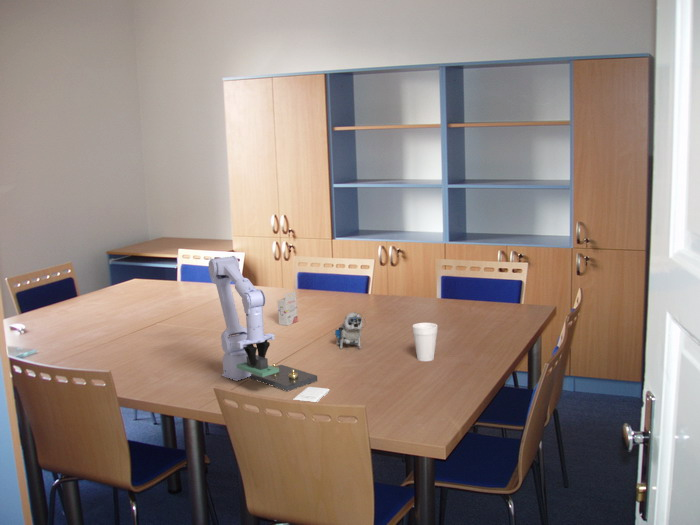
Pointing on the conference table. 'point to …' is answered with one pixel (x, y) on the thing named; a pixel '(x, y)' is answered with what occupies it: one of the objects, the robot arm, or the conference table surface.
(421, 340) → the foam cup
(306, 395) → the external hard drive
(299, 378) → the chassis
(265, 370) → the board
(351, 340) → the robotic toy
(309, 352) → the conference table surface
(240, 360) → the robot arm
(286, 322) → the ink cartridge box
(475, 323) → the conference table surface
